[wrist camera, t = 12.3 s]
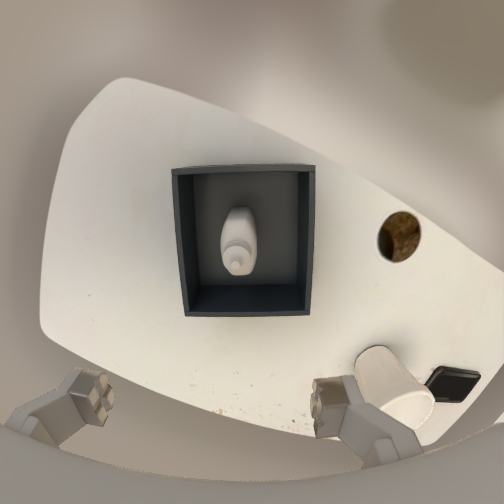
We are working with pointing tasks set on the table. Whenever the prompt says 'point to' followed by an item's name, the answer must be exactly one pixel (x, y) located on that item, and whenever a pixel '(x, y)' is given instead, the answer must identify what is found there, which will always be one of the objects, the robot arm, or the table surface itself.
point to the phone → (451, 384)
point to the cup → (392, 387)
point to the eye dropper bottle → (239, 241)
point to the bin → (268, 238)
